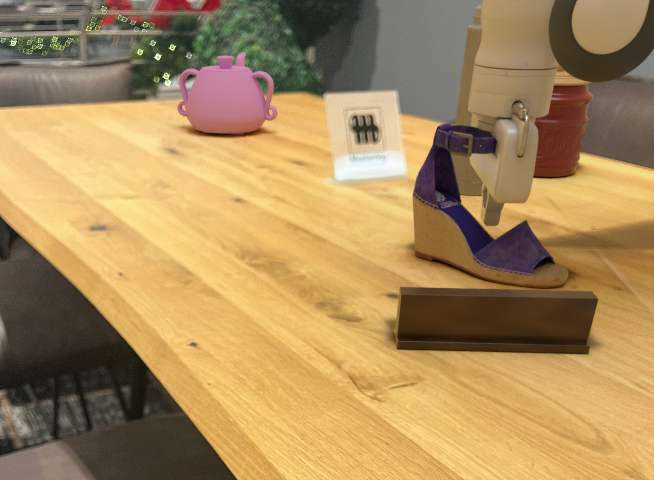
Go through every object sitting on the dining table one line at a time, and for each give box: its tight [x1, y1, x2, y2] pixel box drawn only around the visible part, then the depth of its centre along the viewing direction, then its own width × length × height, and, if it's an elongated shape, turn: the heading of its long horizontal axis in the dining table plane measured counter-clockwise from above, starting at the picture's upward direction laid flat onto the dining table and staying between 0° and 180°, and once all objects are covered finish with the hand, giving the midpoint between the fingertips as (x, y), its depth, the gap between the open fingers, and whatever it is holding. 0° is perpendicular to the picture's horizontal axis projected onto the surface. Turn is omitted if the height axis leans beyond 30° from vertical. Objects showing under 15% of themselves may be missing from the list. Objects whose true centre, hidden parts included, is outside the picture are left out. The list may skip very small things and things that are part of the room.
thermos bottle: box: [451, 0, 483, 196], centre depth 114 cm, size 8×8×28 cm
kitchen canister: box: [533, 63, 594, 178], centre depth 129 cm, size 13×13×18 cm
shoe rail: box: [393, 286, 599, 354], centre depth 72 cm, size 18×4×5 cm, turn 87°
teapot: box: [176, 51, 278, 136], centre depth 161 cm, size 22×22×14 cm
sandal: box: [412, 122, 569, 289], centre depth 87 cm, size 8×20×15 cm, turn 45°
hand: (489, 223), depth 93 cm, fingers closed
